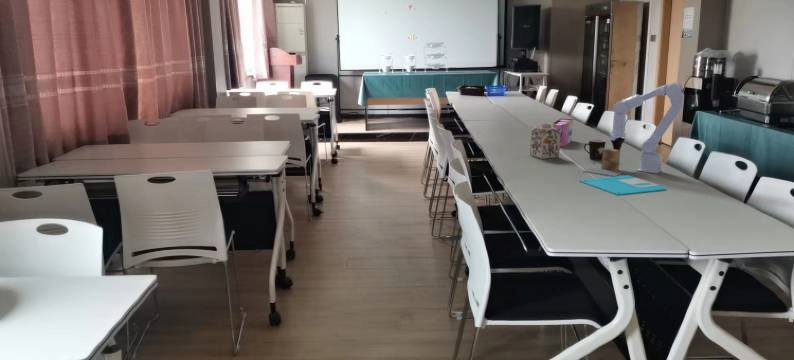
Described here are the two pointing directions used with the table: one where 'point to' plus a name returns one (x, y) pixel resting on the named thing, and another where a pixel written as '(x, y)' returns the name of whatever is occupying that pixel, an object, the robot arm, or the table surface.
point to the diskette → (623, 185)
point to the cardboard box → (610, 159)
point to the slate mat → (603, 172)
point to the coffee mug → (596, 148)
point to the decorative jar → (545, 142)
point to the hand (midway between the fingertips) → (616, 152)
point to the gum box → (564, 130)
